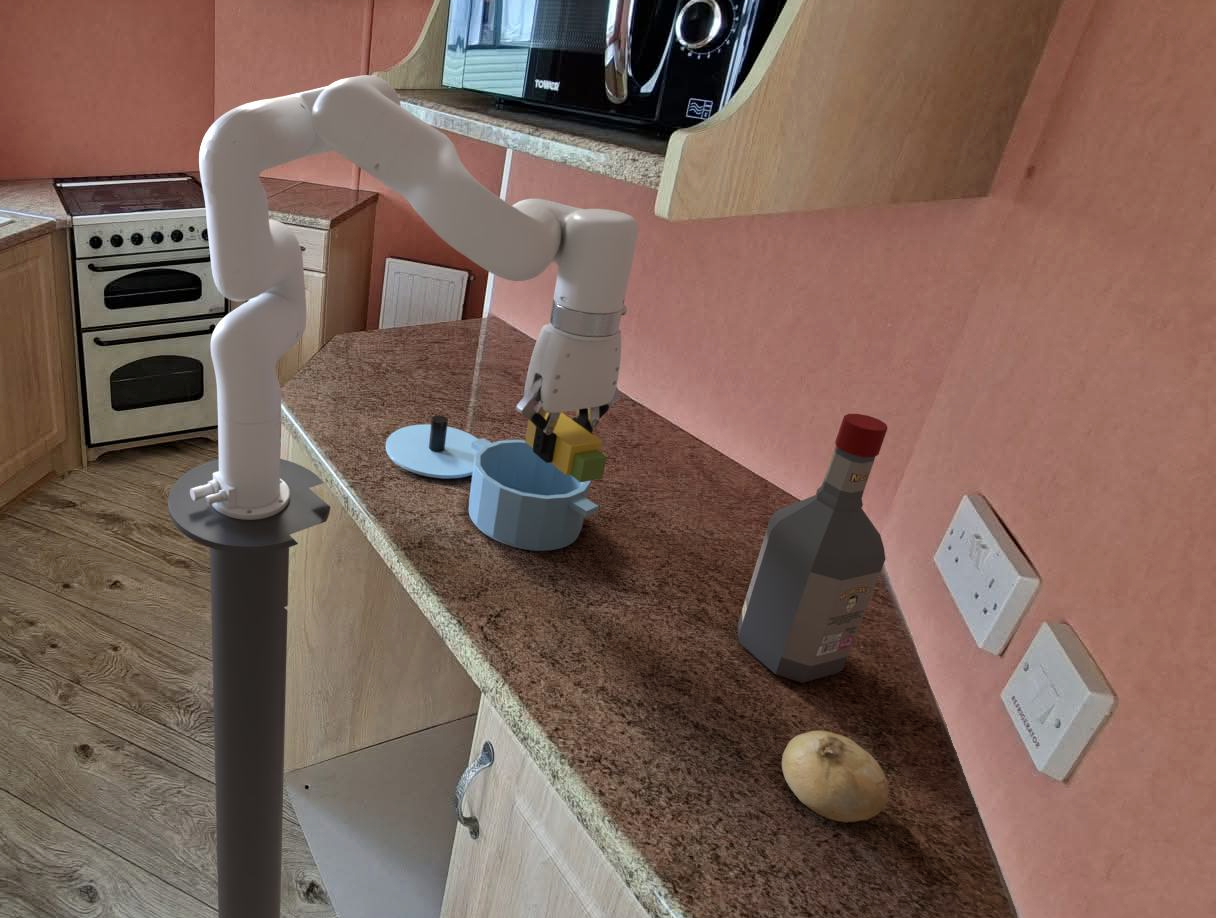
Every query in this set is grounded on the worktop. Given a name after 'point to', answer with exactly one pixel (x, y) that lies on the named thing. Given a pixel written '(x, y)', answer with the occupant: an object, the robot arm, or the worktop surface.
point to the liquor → (818, 567)
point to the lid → (433, 449)
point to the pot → (525, 497)
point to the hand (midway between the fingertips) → (559, 452)
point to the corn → (574, 449)
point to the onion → (834, 776)
